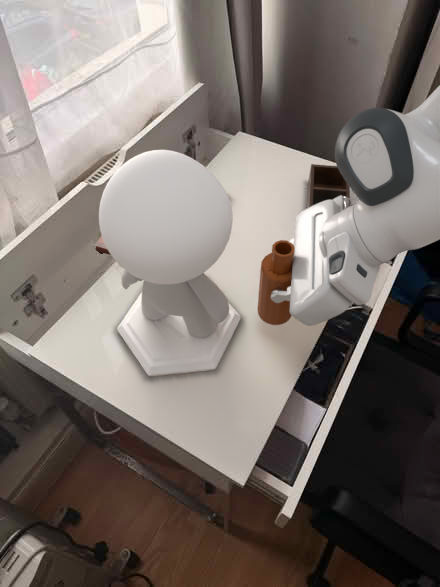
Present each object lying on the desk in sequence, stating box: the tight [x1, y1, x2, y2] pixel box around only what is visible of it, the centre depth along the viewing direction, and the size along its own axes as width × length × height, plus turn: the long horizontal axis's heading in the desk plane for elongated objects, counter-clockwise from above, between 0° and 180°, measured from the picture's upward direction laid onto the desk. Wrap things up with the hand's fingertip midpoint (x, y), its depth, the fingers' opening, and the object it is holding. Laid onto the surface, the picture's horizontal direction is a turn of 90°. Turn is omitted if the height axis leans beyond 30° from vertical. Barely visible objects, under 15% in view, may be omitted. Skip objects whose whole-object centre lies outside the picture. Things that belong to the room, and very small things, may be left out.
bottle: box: [257, 239, 295, 326], centre depth 69 cm, size 6×6×16 cm
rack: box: [306, 163, 351, 209], centre depth 96 cm, size 8×16×6 cm, turn 171°
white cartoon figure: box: [98, 149, 242, 377], centre depth 67 cm, size 20×23×35 cm
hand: (275, 278), depth 68 cm, fingers closed on bottle, 6 cm apart
